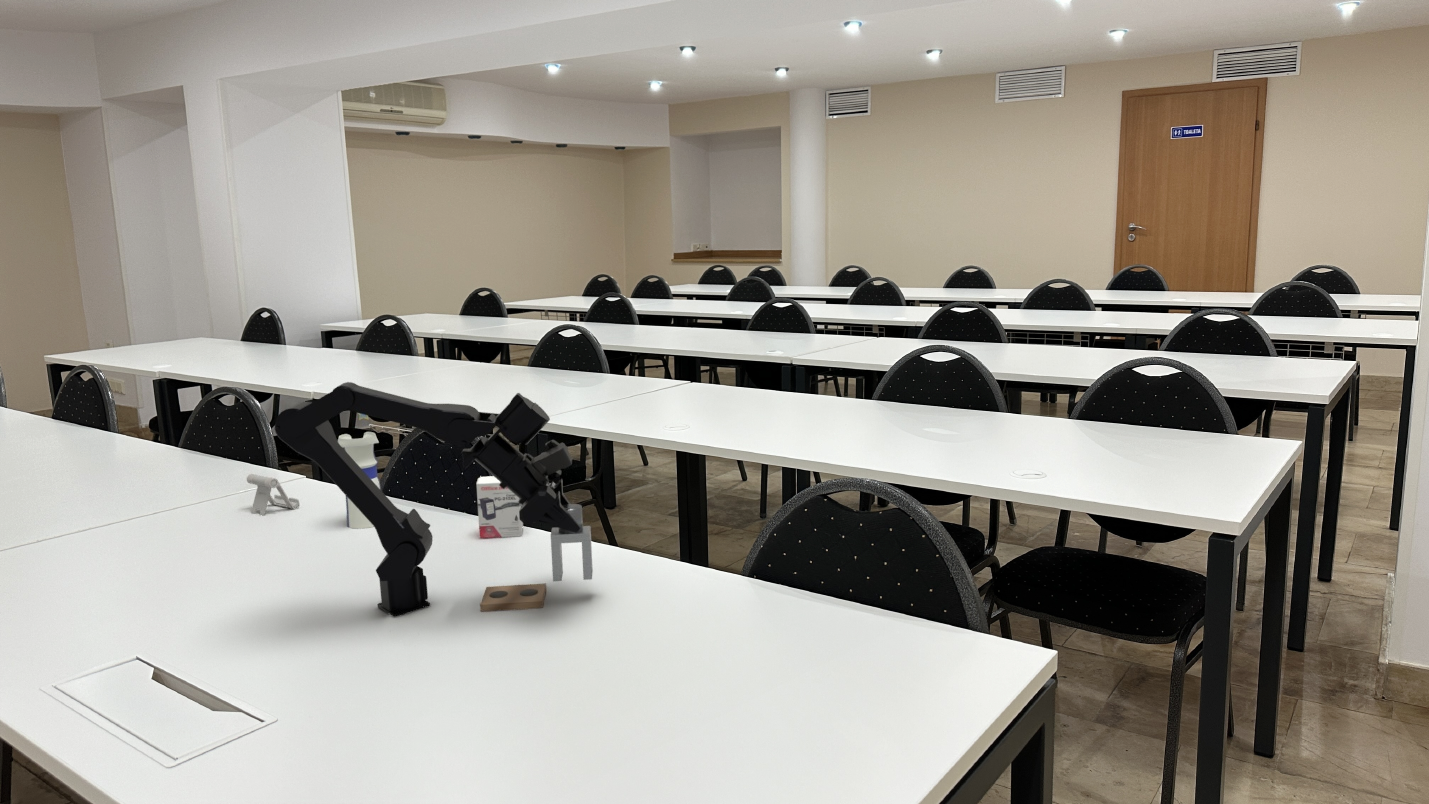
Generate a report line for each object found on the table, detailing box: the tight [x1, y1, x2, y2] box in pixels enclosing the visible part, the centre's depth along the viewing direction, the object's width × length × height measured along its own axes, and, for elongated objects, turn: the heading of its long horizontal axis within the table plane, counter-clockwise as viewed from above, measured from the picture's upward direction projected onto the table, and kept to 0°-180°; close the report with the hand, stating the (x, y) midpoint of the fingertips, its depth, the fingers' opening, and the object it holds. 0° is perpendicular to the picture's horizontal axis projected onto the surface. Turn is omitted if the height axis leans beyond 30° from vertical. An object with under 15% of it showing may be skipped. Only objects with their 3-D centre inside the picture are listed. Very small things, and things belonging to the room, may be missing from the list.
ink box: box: [476, 475, 524, 539], centre depth 196 cm, size 8×5×12 cm, turn 98°
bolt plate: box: [479, 583, 547, 613], centre depth 161 cm, size 10×8×1 cm
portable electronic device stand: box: [246, 473, 301, 517], centre depth 218 cm, size 9×8×8 cm
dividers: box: [550, 503, 594, 582], centre depth 160 cm, size 6×4×12 cm, turn 96°
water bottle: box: [337, 413, 382, 530], centre depth 205 cm, size 8×9×25 cm
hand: (579, 526), depth 160 cm, fingers closed on dividers, 4 cm apart
